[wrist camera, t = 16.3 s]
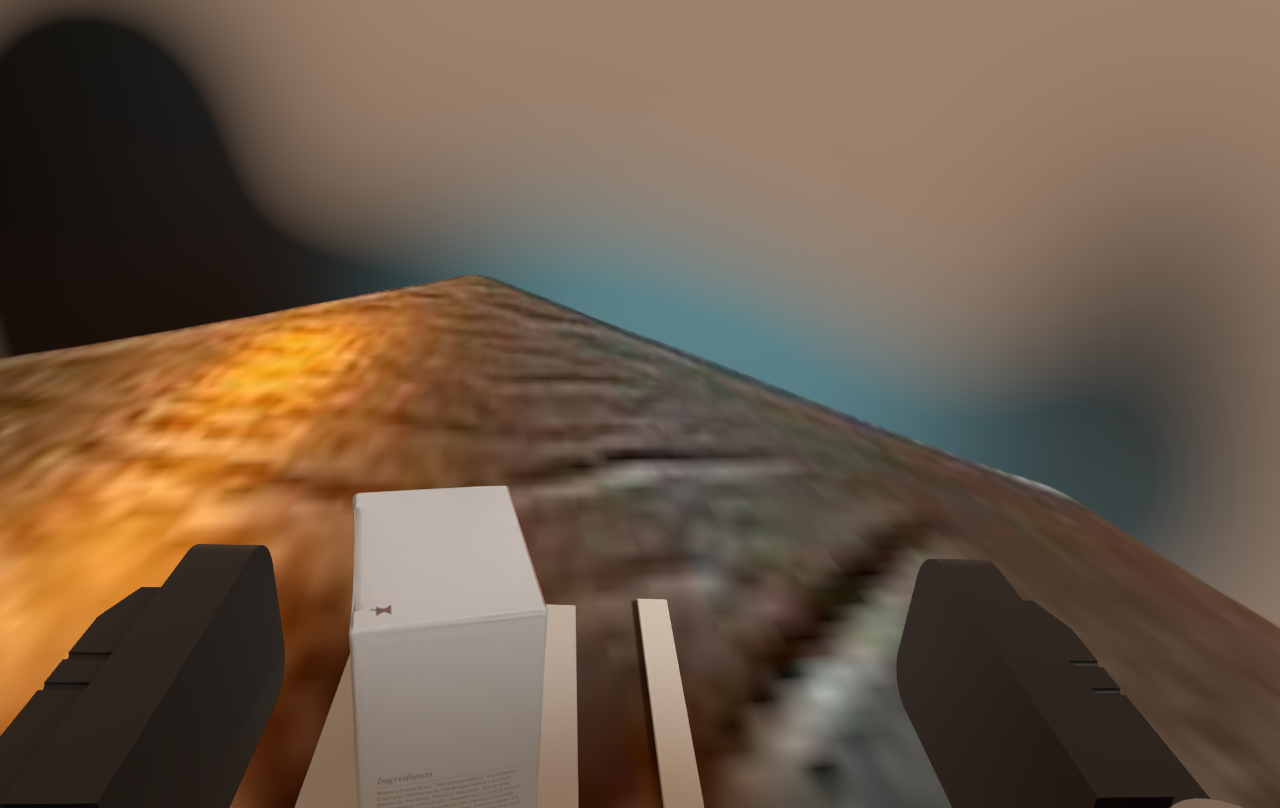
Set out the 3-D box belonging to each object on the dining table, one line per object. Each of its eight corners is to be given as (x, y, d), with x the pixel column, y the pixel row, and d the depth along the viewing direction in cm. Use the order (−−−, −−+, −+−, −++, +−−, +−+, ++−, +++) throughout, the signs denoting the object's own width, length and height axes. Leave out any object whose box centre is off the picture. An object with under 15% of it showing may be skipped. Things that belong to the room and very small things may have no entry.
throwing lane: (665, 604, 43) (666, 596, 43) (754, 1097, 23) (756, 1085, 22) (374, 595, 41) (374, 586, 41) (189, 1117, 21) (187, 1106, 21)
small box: (534, 869, 28) (553, 613, 24) (358, 904, 26) (346, 634, 22) (501, 700, 35) (511, 480, 31) (361, 718, 33) (352, 488, 29)
